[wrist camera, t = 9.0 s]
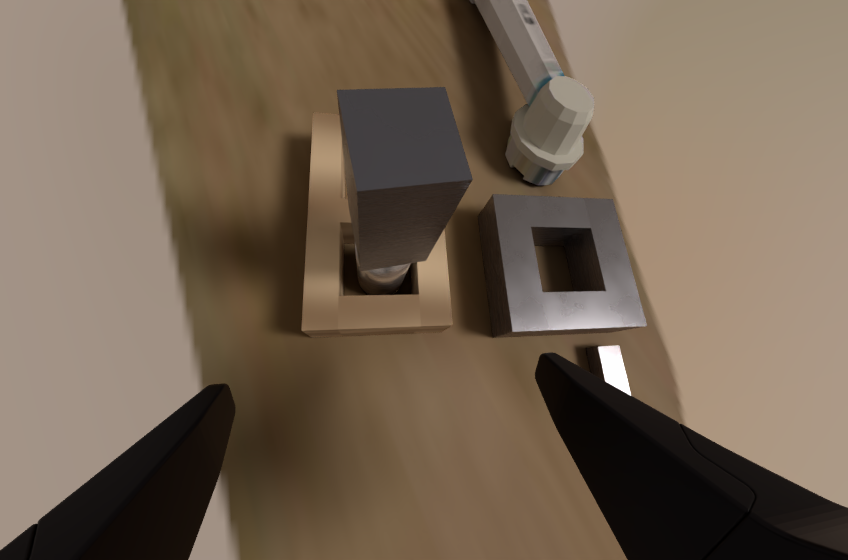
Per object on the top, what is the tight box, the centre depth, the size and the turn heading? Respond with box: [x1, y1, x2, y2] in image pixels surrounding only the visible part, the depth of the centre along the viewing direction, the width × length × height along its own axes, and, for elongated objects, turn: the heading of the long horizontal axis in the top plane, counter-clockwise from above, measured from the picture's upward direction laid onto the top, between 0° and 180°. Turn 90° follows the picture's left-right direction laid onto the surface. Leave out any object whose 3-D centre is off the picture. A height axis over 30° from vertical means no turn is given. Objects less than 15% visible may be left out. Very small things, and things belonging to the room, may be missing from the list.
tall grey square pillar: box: [337, 87, 473, 295], centre depth 14 cm, size 3×3×13 cm
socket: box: [478, 194, 647, 338], centre depth 21 cm, size 9×9×3 cm
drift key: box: [586, 346, 631, 395], centre depth 20 cm, size 7×2×1 cm, turn 3°
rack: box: [301, 112, 453, 338], centre depth 20 cm, size 14×8×3 cm, turn 3°
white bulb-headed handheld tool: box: [470, 0, 594, 185], centre depth 26 cm, size 5×7×25 cm
